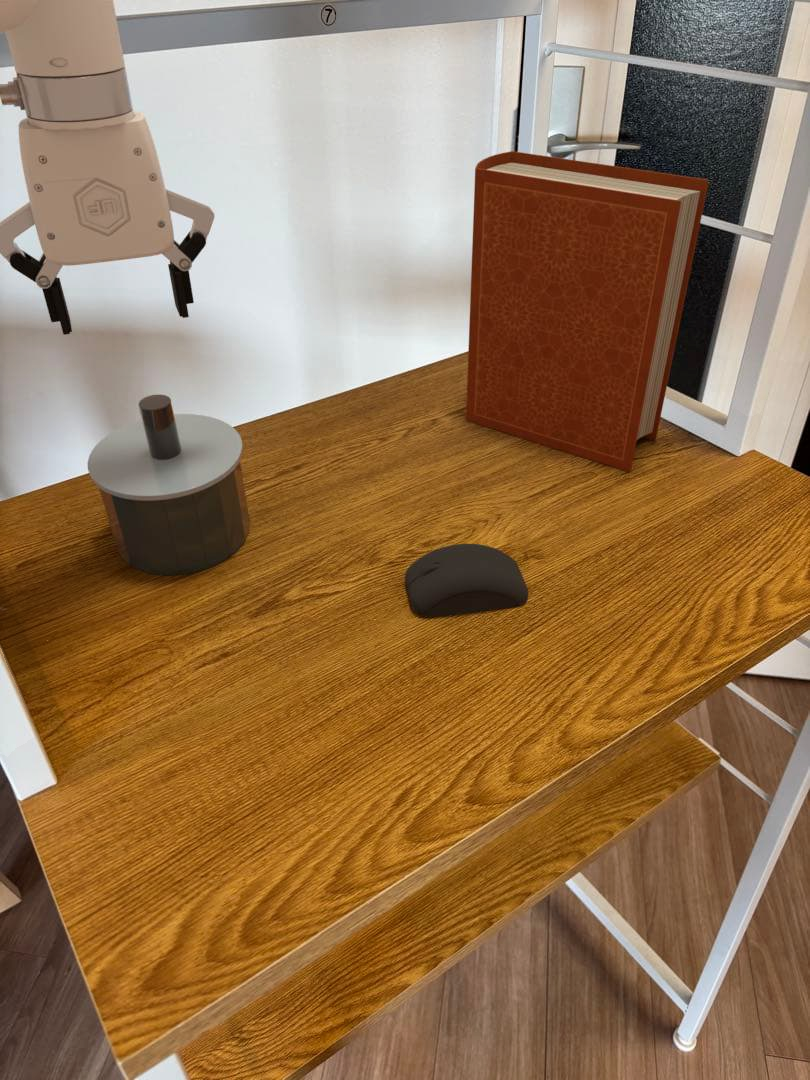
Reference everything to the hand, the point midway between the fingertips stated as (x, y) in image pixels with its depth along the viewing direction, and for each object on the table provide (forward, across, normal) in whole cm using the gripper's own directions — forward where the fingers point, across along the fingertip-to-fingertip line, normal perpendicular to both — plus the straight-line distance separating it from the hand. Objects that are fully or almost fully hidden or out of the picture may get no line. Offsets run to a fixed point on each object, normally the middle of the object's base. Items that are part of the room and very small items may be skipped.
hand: (125, 319), depth 71 cm
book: (+24, +48, +5) cm, 53 cm away
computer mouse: (+24, +25, -18) cm, 39 cm away
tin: (+24, +1, +1) cm, 24 cm away
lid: (+15, +1, +1) cm, 15 cm away
